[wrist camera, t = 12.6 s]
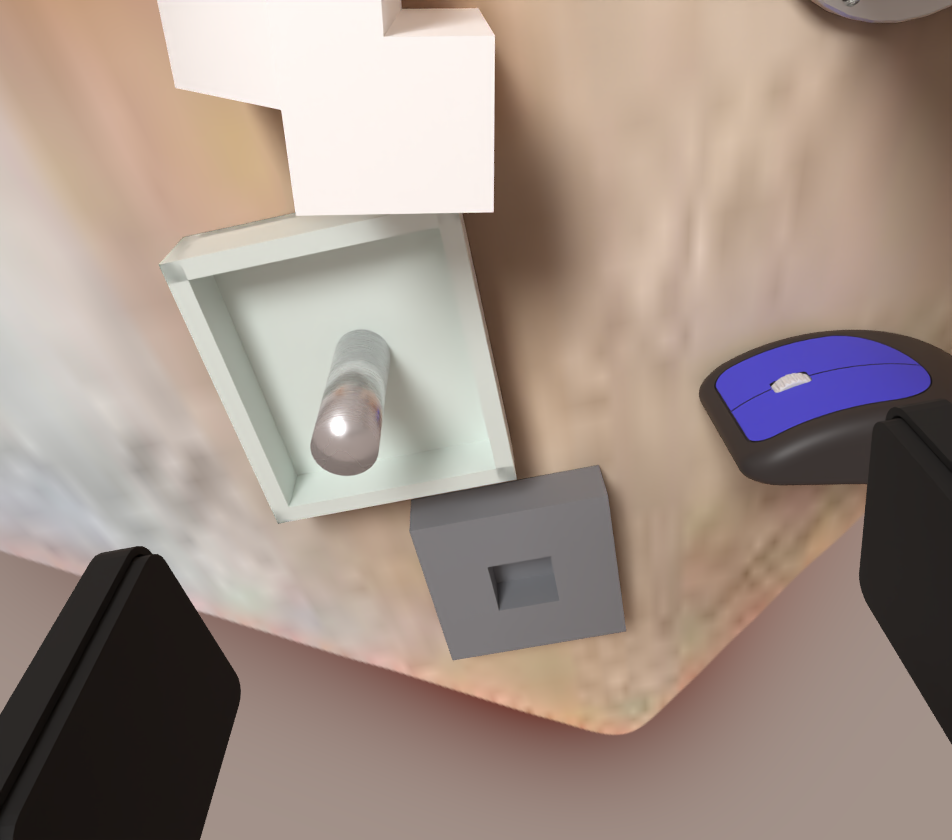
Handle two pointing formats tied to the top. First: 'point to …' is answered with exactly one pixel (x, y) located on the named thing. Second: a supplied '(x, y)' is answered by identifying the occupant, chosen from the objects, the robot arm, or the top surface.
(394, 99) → the corner bracket
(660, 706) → the top surface
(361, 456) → the pin
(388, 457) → the parts tray
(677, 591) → the top surface
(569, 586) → the grey square hole plate
